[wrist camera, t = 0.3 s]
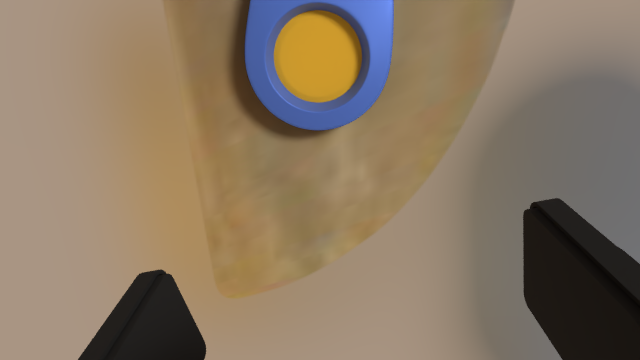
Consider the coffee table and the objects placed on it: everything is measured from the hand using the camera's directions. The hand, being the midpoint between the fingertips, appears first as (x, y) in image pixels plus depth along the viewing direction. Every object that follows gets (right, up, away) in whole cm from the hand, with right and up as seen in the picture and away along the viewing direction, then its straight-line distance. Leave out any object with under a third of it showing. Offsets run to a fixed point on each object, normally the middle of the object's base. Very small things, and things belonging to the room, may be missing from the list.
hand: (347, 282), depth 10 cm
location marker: (0, +20, +24) cm, 32 cm away
